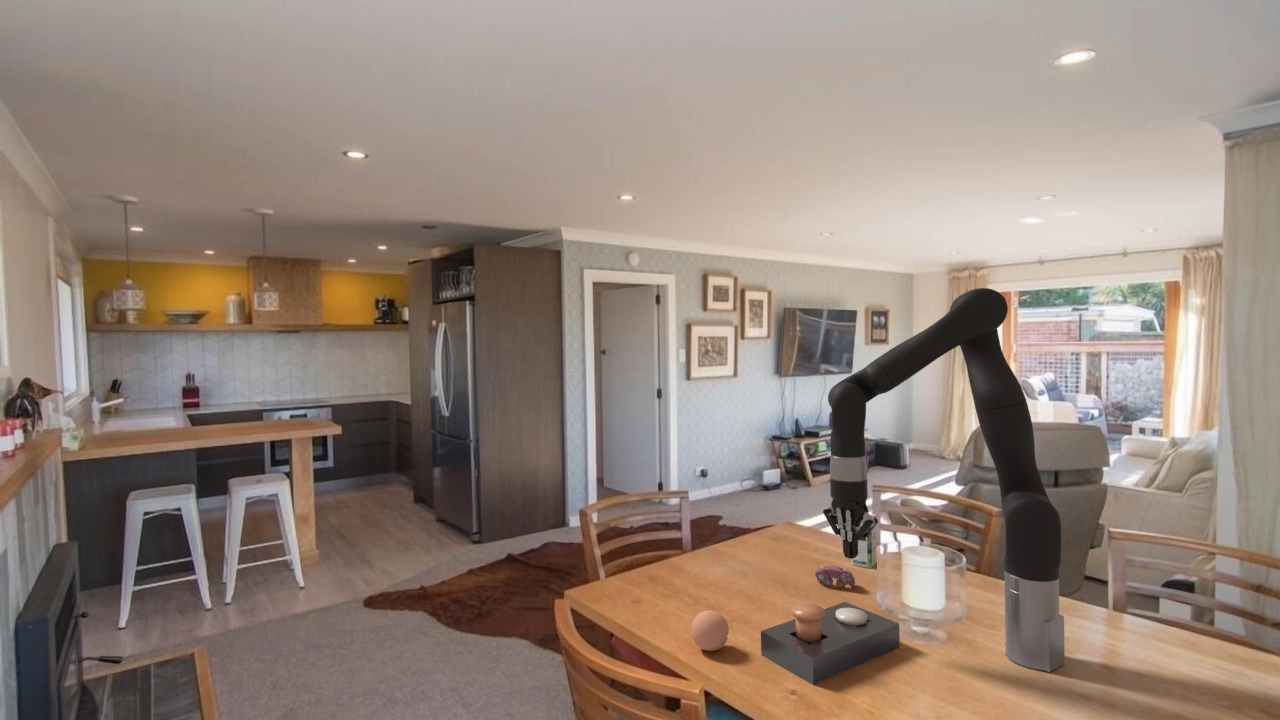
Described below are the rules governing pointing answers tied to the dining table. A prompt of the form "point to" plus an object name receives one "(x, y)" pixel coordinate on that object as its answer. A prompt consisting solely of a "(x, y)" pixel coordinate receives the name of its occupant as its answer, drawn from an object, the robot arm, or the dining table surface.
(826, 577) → the video game controller
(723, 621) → the toy ball
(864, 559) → the syrup box
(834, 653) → the button panel
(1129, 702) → the dining table surface
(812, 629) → the terracotta button
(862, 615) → the grey button
